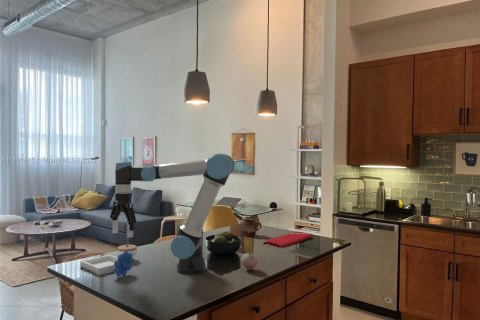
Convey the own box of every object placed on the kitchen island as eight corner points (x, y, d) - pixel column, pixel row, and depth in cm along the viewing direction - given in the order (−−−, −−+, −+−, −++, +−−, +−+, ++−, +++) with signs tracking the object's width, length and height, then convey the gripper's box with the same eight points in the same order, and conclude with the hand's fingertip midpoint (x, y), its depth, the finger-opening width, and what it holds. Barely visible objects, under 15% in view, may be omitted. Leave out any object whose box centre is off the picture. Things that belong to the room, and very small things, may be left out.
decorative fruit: (238, 268, 192) (238, 249, 192) (252, 266, 195) (253, 248, 195) (245, 273, 183) (245, 254, 183) (259, 272, 186) (260, 252, 186)
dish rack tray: (128, 267, 191) (128, 261, 191) (98, 275, 178) (98, 268, 178) (109, 260, 203) (109, 254, 203) (80, 267, 190) (80, 261, 190)
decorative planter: (266, 236, 272) (266, 217, 272) (257, 239, 262) (257, 220, 262) (244, 232, 283) (244, 215, 283) (235, 235, 273) (235, 217, 273)
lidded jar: (131, 263, 198) (131, 246, 198) (113, 262, 200) (113, 245, 200) (140, 258, 209) (140, 242, 209) (123, 257, 211) (123, 241, 211)
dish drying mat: (262, 244, 247) (262, 239, 247) (295, 235, 277) (295, 230, 277) (280, 248, 236) (280, 243, 236) (313, 238, 267) (313, 233, 266)
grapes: (127, 271, 185) (127, 248, 185) (136, 273, 182) (136, 250, 182) (108, 277, 176) (108, 252, 176) (116, 280, 172) (117, 255, 172)
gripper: (144, 194, 173) (143, 237, 173) (116, 190, 189) (115, 230, 190) (130, 195, 168) (130, 240, 168) (103, 191, 184) (102, 232, 184)
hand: (122, 235), depth 179 cm, fingers open, 13 cm apart
